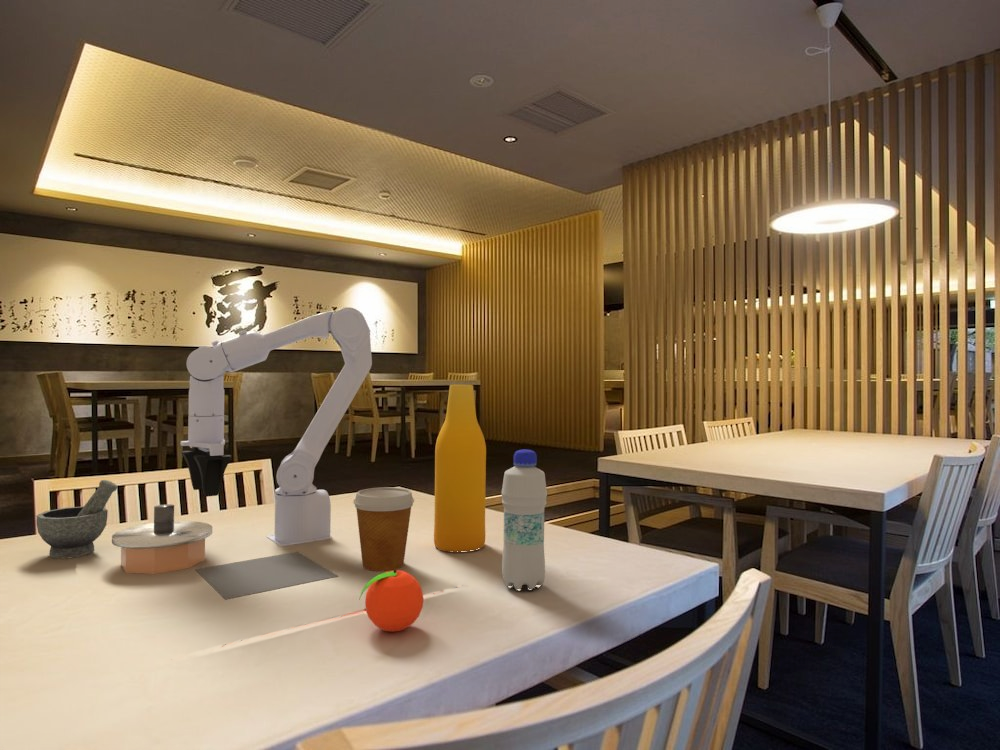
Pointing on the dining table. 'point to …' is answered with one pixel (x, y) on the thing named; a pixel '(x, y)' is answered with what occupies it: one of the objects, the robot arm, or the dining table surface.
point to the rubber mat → (263, 574)
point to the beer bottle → (460, 476)
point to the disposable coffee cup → (383, 526)
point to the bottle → (524, 522)
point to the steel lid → (162, 531)
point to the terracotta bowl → (162, 558)
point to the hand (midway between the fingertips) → (205, 492)
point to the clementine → (393, 600)
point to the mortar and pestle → (76, 524)
